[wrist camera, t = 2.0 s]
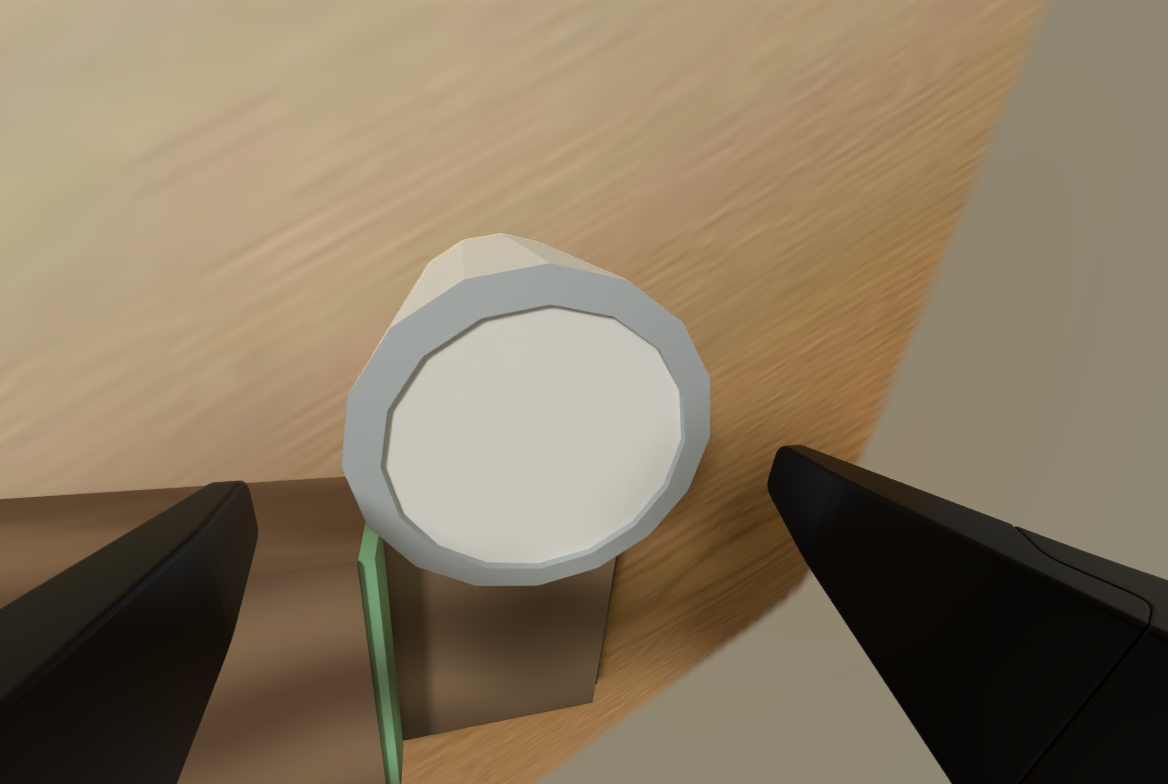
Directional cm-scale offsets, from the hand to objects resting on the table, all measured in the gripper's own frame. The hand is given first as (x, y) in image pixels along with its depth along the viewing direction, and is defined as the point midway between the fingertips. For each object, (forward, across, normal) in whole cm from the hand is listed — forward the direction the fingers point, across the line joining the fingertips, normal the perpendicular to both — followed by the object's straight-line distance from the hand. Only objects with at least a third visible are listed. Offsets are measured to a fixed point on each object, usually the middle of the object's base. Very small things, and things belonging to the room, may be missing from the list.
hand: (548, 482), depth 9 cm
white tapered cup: (+8, 0, 0) cm, 8 cm away
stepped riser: (+8, +5, +10) cm, 14 cm away
